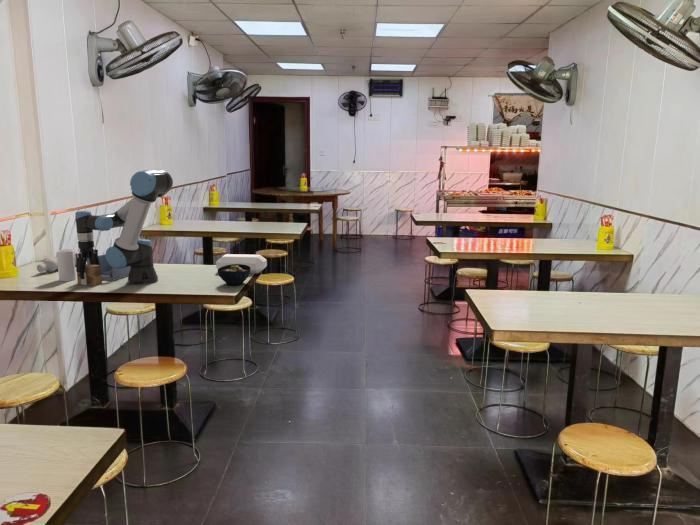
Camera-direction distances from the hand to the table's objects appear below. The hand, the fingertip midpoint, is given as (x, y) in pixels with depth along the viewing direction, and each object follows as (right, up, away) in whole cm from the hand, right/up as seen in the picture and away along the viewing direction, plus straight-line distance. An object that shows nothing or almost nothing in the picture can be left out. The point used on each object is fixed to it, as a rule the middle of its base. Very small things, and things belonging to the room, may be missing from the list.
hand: (89, 282), depth 287 cm
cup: (-16, +1, +9) cm, 18 cm away
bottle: (-34, +7, +34) cm, 48 cm away
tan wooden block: (0, 0, 0) cm, 0 cm away
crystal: (+75, +5, +29) cm, 81 cm away
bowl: (+77, -1, 0) cm, 77 cm away
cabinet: (+4, +3, +17) cm, 17 cm away
